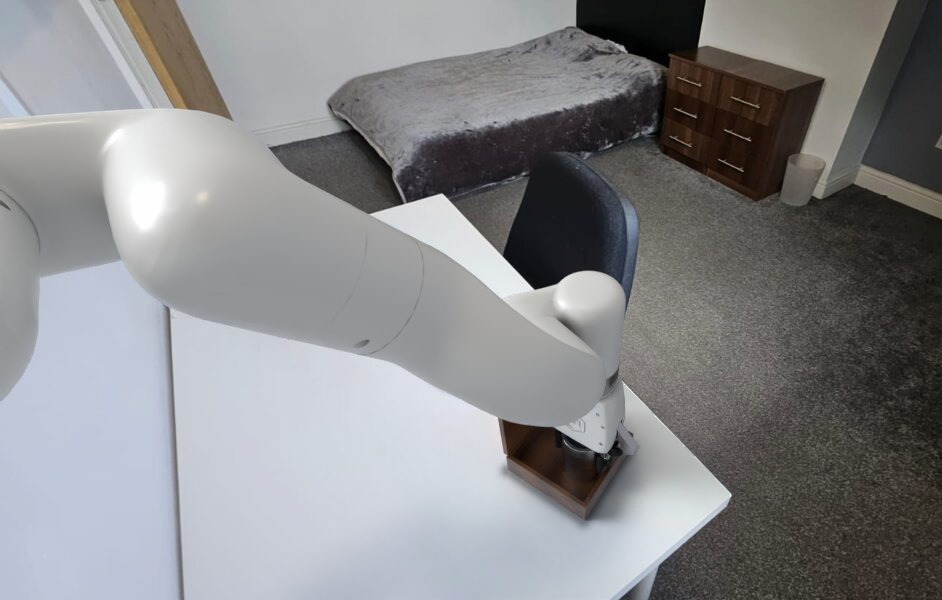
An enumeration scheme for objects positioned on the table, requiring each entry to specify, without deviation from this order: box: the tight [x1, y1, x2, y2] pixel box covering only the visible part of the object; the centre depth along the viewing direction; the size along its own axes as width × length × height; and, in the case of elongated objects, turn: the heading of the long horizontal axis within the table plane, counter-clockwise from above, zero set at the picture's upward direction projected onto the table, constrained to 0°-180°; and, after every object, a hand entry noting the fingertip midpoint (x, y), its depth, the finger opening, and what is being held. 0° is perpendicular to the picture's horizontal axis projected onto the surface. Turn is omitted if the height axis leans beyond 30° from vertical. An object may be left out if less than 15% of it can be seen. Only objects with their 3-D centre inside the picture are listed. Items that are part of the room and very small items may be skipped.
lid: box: [497, 417, 533, 456], centre depth 66 cm, size 14×13×5 cm
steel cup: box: [562, 433, 600, 482], centre depth 66 cm, size 6×6×8 cm
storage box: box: [505, 426, 634, 521], centre depth 68 cm, size 13×13×4 cm
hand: (583, 451), depth 66 cm, fingers closed on steel cup, 6 cm apart
